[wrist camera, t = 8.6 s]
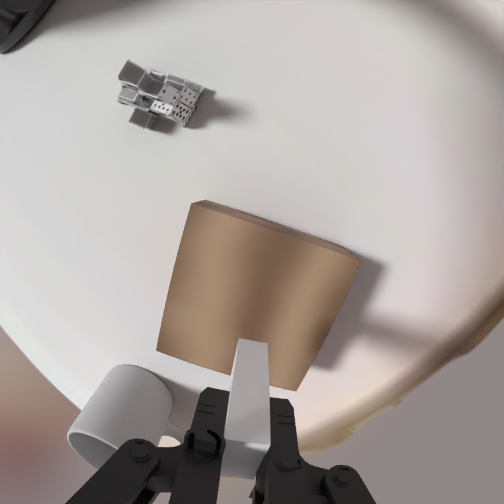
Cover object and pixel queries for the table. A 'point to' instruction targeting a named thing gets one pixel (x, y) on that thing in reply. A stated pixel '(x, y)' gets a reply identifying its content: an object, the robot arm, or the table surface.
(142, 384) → the mug
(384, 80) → the table surface
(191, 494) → the robot arm
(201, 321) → the brown boxy piece
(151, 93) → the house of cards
